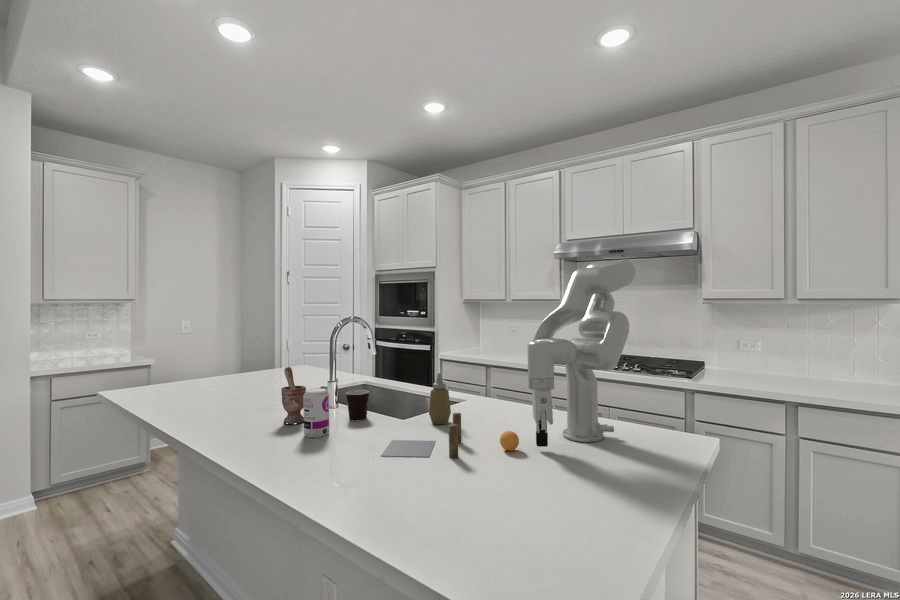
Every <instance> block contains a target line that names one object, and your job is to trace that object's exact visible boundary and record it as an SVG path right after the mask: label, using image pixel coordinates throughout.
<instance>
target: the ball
mask: <svg viewBox="0 0 900 600" xmlns="http://www.w3.org/2000/svg"><path fill="white" fill-rule="evenodd" d="M499 443H500V446H501V447H502V449H504V450H505V451H509V452H512V451H514V450H516V449H517V448H518V447H519V443H520V438H519V436H518V435H517V433H516V432H514V431H512V430H506V431H504V432H503V433H501V435H500V437H499Z"/></svg>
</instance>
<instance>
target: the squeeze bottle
mask: <svg viewBox="0 0 900 600" xmlns="http://www.w3.org/2000/svg"><path fill="white" fill-rule="evenodd" d="M428 409H429V410H428V414H429V418H430V421H431V423H432V424H435V425H445V424H448V423H449V420H450V416H451V413H452V410H451V409H452V408H451V403H450V392H449V389H448V388H447V383H446V382H444V380H443V376H442V373H441V372H439V373H438V372H437V376H436V380H435V382H434V383H433V384H432V389H431V390H430V395H429V408H428Z"/></svg>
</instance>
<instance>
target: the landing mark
mask: <svg viewBox="0 0 900 600" xmlns="http://www.w3.org/2000/svg"><path fill="white" fill-rule="evenodd" d="M435 444H436V440H421V439H420V440H419V439H418V440H415V439H414V440H410V439H407V440H406V439H392V440H391V441H390V442H389V443H388V445H387V447H386V448H385V449H384V451H383V452H382V453H381V455H380V457H385V456H392V458H393V456H394V457H395V458H398V457H399V458H400V457H401V458H403V457H404V458H411V457H412V458H430V456H431V453H432V450H433V449H434V446H435Z"/></svg>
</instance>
